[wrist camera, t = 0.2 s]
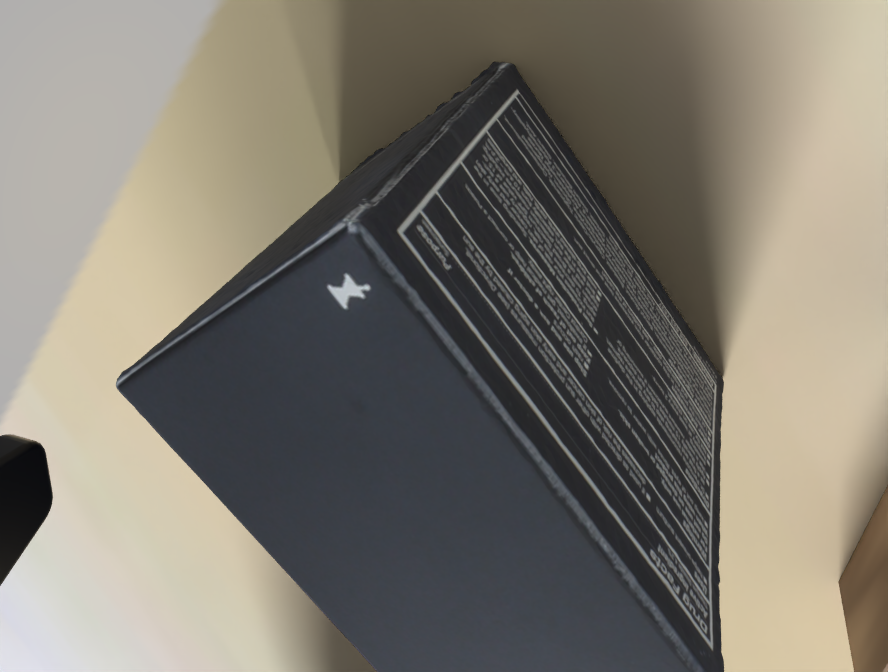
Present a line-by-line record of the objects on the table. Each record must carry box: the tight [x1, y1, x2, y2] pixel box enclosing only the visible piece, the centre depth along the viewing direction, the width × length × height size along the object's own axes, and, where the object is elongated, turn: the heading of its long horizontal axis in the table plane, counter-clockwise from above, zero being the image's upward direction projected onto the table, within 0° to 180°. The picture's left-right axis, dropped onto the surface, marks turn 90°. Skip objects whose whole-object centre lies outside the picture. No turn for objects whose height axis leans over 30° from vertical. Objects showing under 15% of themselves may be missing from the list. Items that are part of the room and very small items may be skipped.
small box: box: [116, 62, 724, 672], centre depth 19 cm, size 11×6×10 cm, turn 37°
